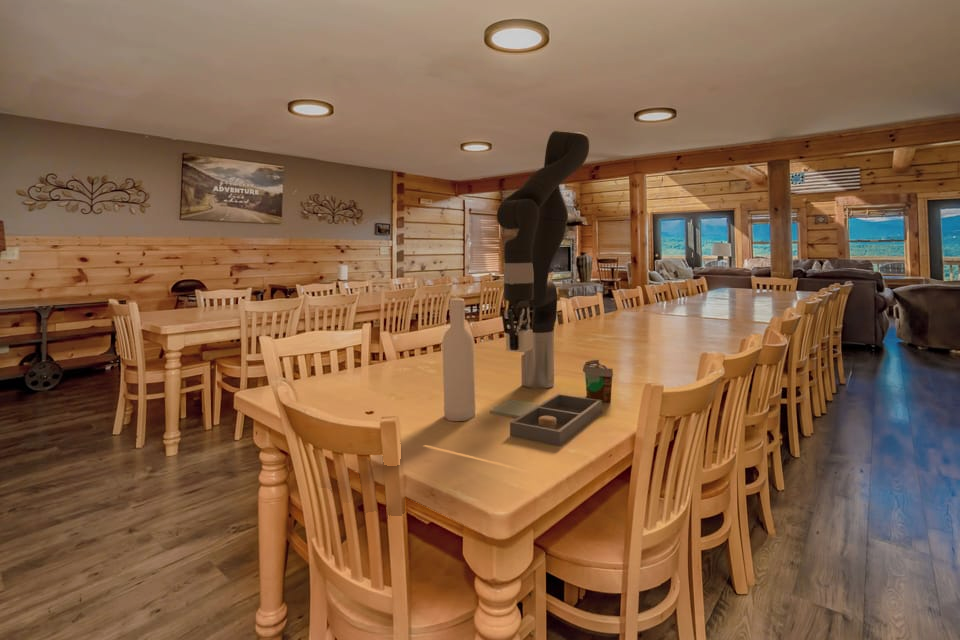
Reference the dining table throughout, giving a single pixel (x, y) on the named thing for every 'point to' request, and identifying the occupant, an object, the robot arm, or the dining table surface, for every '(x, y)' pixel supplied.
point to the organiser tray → (568, 416)
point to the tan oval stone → (547, 422)
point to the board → (513, 408)
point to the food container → (598, 381)
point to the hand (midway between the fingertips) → (519, 347)
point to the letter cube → (522, 340)
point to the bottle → (458, 366)
